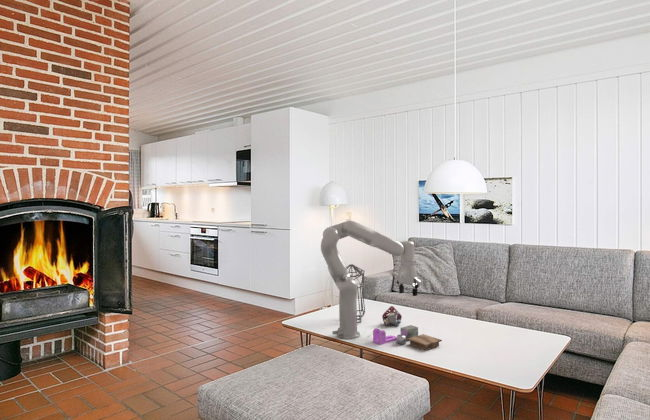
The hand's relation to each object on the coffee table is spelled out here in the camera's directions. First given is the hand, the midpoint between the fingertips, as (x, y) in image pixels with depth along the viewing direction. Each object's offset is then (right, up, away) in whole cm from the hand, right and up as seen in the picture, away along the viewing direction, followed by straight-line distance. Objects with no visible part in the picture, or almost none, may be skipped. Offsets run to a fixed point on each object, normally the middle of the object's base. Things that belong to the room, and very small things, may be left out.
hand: (408, 294), depth 232 cm
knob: (-7, -21, -18) cm, 29 cm away
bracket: (-14, -22, -14) cm, 29 cm away
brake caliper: (-7, -21, +15) cm, 27 cm away
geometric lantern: (-29, -22, +25) cm, 44 cm away
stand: (+4, -21, -22) cm, 31 cm away
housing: (-2, -21, -11) cm, 24 cm away
